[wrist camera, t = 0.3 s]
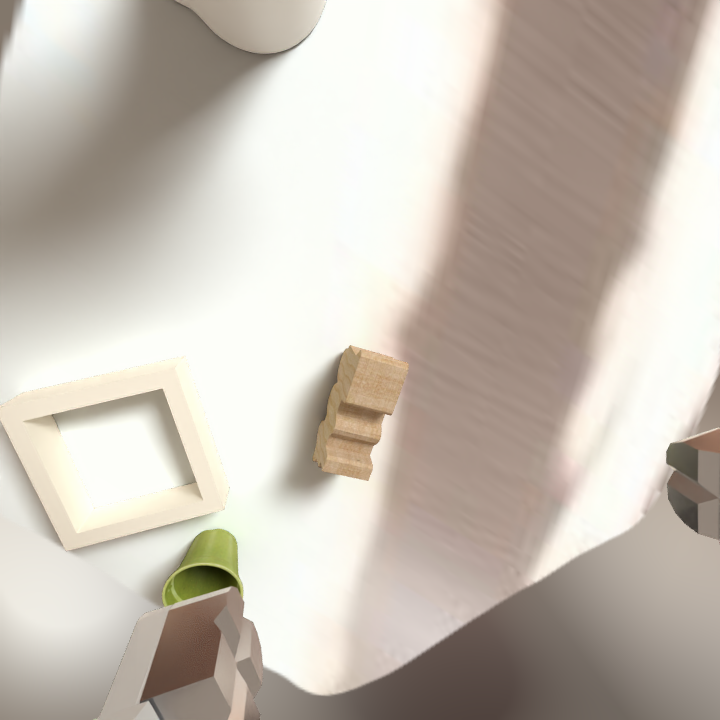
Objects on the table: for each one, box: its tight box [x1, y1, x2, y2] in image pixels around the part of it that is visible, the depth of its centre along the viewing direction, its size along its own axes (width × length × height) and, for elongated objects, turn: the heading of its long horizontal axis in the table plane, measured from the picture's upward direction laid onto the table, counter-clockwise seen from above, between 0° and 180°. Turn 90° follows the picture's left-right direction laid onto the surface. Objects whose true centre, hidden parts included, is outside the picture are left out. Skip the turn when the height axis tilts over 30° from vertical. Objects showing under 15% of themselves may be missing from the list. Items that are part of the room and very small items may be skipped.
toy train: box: [313, 345, 409, 481], centre depth 52 cm, size 6×17×10 cm, turn 162°
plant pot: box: [162, 529, 243, 607], centre depth 56 cm, size 9×9×9 cm
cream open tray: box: [0, 356, 230, 551], centre depth 52 cm, size 19×19×5 cm
